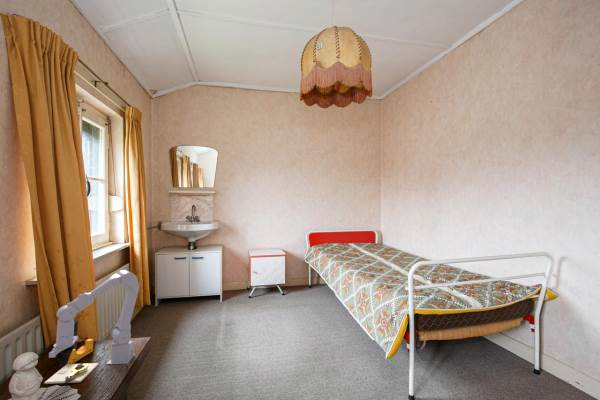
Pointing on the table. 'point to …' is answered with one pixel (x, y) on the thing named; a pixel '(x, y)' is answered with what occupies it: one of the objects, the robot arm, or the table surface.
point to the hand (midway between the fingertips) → (63, 365)
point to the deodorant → (75, 331)
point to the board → (66, 371)
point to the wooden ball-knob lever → (76, 372)
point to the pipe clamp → (81, 351)
